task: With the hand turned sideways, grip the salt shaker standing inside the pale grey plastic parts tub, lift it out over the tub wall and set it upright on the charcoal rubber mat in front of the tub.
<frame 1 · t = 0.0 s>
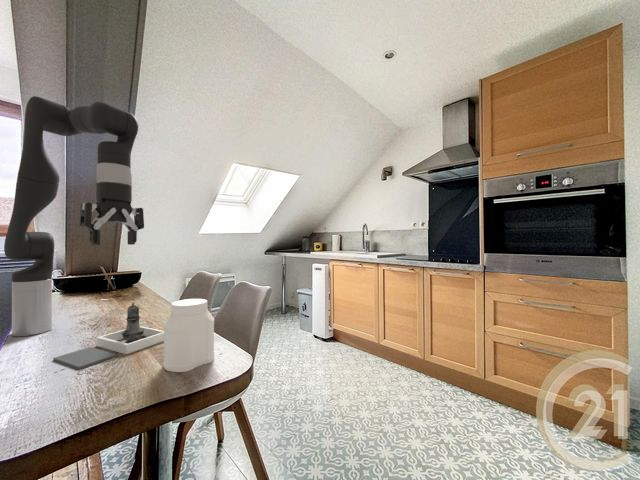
hand: (114, 244, 73), 29 cm above the table, tool pointing down, fingers open, 8 cm apart
jar: (189, 362, 70), on the table
rubber mat: (85, 358, 71), on the table
parts tub: (133, 342, 82), on the table
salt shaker: (133, 343, 82), resting in parts tub
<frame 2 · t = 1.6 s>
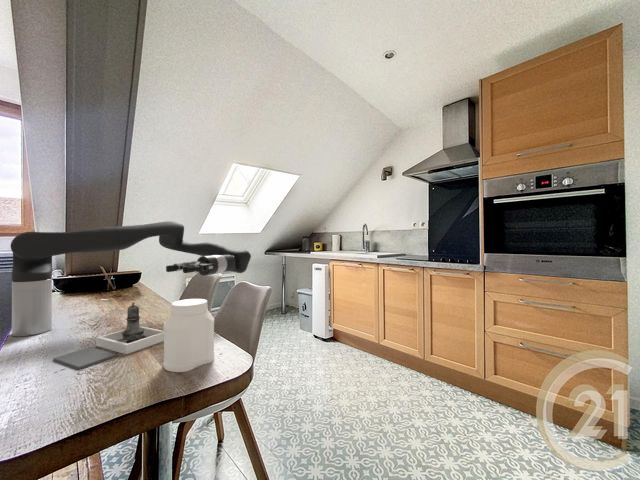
hand: (175, 269, 94), 20 cm above the table, tool horizontal, fingers open, 8 cm apart
nothing on the table moved.
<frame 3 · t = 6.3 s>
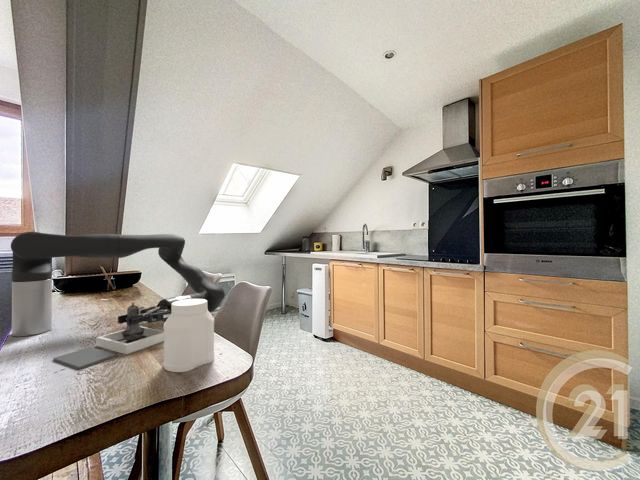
hand: (123, 320, 80), 7 cm above the table, tool horizontal, fingers closed on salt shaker, 3 cm apart
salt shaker: (133, 343, 82), resting in parts tub, touching gripper
everything else where it was.
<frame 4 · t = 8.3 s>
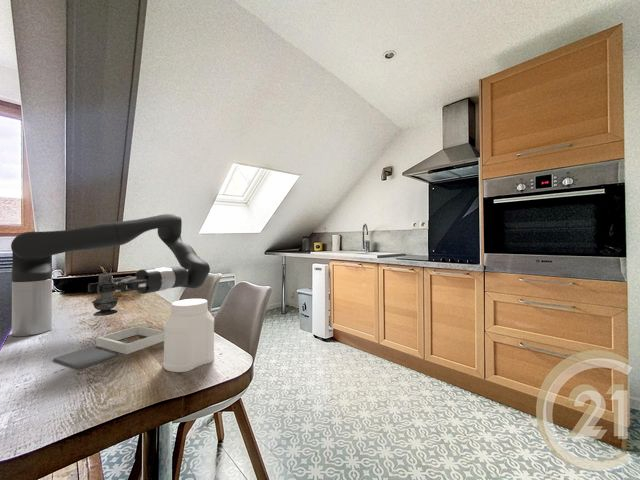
hand: (93, 288, 73), 18 cm above the table, tool horizontal, fingers closed on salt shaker, 3 cm apart
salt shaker: (105, 314, 76), point 10 cm above the table, touching gripper
everything else where it was.
when the fingers open (9 cm above the table, at t = 10.6 s): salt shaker drops 1 cm, resting on rubber mat.
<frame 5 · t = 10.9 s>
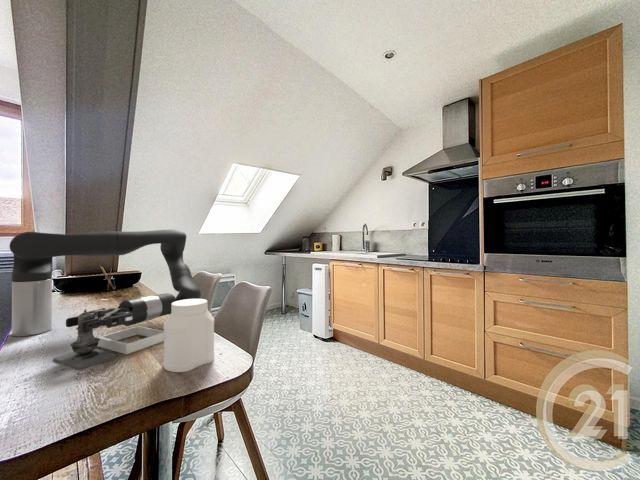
hand: (74, 324, 69), 9 cm above the table, tool horizontal, fingers open, 6 cm apart
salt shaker: (85, 356, 72), resting on rubber mat
everything else where it was.
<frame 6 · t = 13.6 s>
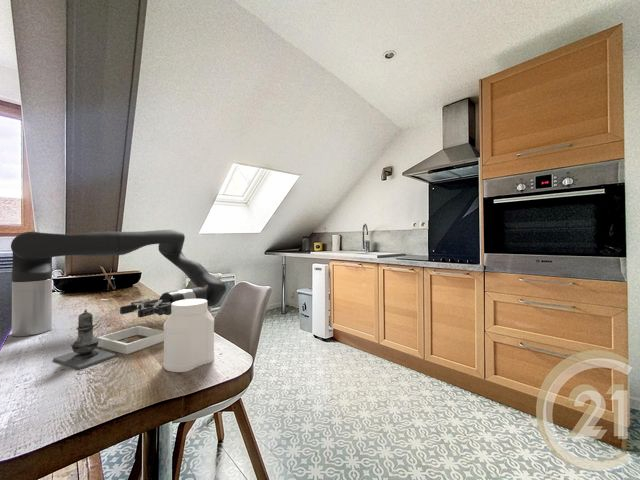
hand: (129, 312, 81), 9 cm above the table, tool horizontal, fingers open, 8 cm apart
nothing on the table moved.
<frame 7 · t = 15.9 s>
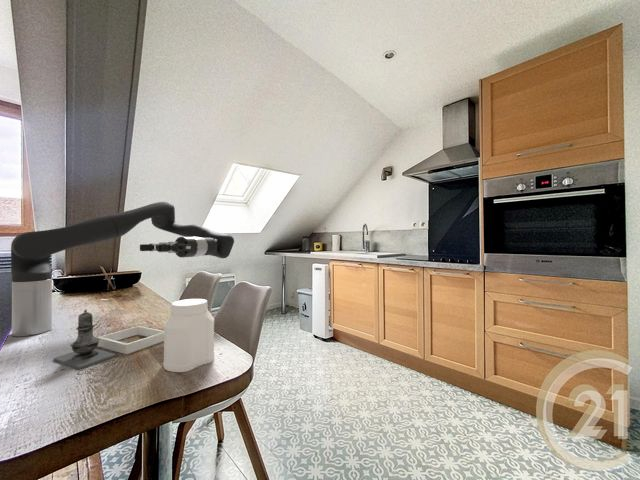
hand: (148, 248, 89), 28 cm above the table, tool horizontal, fingers open, 8 cm apart
nothing on the table moved.
at the end: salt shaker inside the target area (0.1 cm from its centre), resting on rubber mat; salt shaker tilted 0°; the gripper is holding nothing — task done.
